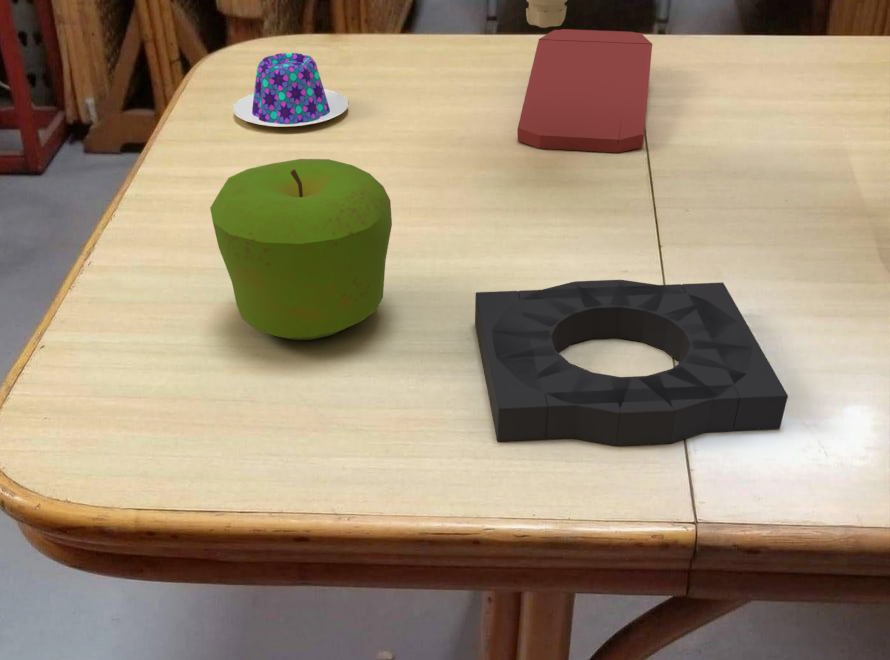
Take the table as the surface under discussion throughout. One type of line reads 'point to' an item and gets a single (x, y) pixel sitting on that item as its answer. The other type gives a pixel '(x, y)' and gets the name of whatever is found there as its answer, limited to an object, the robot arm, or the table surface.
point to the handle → (546, 12)
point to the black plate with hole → (623, 398)
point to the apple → (304, 245)
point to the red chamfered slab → (587, 91)
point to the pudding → (289, 94)
